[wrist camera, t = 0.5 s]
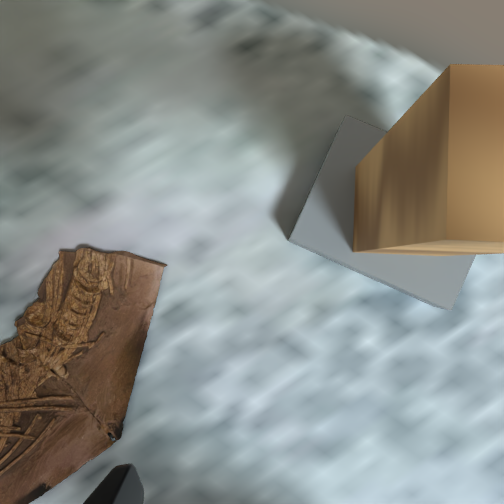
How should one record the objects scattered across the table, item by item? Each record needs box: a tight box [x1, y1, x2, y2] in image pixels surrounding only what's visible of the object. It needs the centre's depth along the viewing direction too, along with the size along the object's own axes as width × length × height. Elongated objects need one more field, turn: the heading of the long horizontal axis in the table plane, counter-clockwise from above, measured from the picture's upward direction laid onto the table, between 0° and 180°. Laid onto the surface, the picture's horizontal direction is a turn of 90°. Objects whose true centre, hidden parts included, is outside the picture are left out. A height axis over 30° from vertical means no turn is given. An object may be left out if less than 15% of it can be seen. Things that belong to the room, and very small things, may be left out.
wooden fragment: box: [0, 248, 167, 504], centre depth 22 cm, size 26×11×1 cm, turn 139°
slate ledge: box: [288, 115, 476, 311], centre depth 20 cm, size 10×8×2 cm
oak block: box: [353, 64, 504, 256], centre depth 14 cm, size 5×5×10 cm
